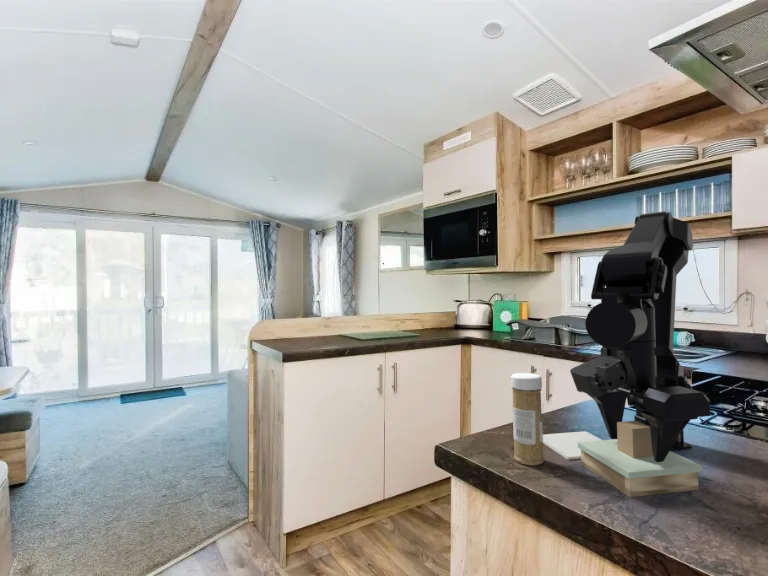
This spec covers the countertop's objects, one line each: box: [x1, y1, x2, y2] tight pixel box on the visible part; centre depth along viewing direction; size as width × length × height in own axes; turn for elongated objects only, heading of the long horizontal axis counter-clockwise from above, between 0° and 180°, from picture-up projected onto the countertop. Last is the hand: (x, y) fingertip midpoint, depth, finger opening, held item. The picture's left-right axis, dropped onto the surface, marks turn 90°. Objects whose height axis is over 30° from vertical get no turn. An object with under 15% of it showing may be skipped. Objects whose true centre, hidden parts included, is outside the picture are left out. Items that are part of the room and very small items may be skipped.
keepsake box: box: [580, 450, 699, 498], centre depth 58 cm, size 10×10×2 cm
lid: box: [578, 420, 703, 479], centre depth 58 cm, size 11×11×5 cm
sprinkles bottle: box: [510, 372, 545, 466], centre depth 64 cm, size 5×5×13 cm
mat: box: [543, 430, 602, 461], centre depth 69 cm, size 10×10×1 cm
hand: (634, 449), depth 58 cm, fingers open, 8 cm apart
